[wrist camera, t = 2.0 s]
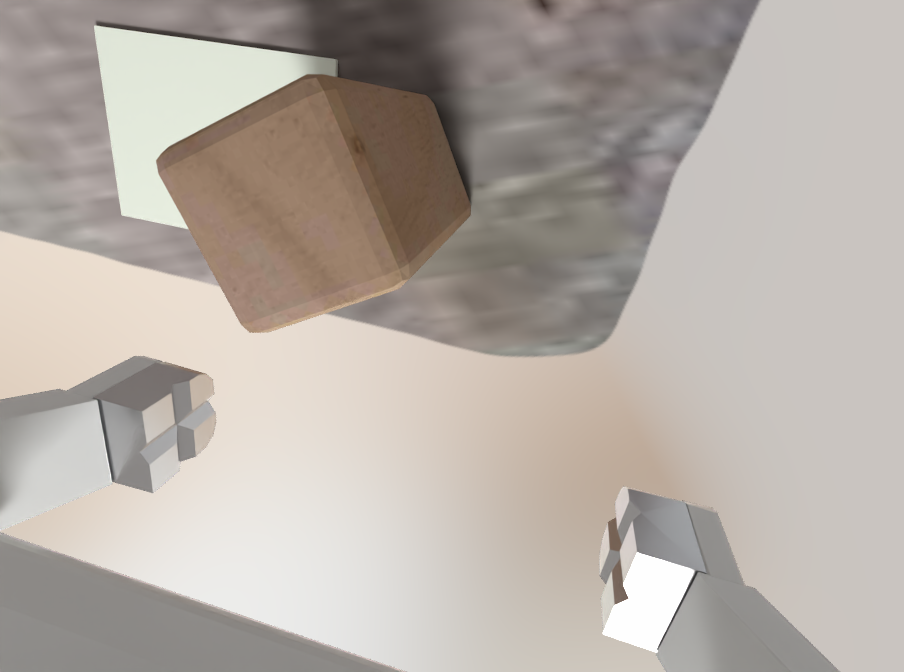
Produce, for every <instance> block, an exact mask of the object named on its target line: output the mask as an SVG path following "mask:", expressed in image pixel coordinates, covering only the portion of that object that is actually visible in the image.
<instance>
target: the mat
mask: <svg viewBox="0 0 904 672" xmlns="http://www.w3.org/2000/svg"><path fill="white" fill-rule="evenodd" d="M94 30H95V37H96V43H97V50H98V57H99V64H100V71H101V78H102V84H103V91H104V98H105V105H106V112H107V119H108V125H109V132H110V139H111V146H112V153H113V160H114V166H115V173H116V180H117V187H118V194H119V201H120V207H121V214H122V215H123V216H128V217H133V218H138V219H142V220H147V221H152V222H157V223H162V224H166V225H171V226H176V227H181V228H186V229H188V227H187V225H186V223H185V221H184V220H183V218H182V216H181V214H180V212H179V210H178V209H177V207H176V205H175V203H174V201H173V199H172V198H171V196H170V194H169V192H168V190H167V189H166V187H165V185H164V183H163V181H162V179H161V178H160V176H159V174H158V169H157V164H156V160H157V158H158V157H159V156H160V154H161V153H162V152H163V151H164V150H165V149H167V148H168V147H169V146H171V145H172V144H174V143H176V142H178V141H180V140H182V139H184V138H186V137H188V136H190V135H192V134H193V133H195V132H197V131H199V130H201V129H203V128H205V127H207V126H209V125H211V124H213V123H214V122H216V121H218V120H220V119H222V118H224V117H226V116H228V115H230V114H232V113H234V112H236V111H237V110H239V109H241V108H243V107H245V106H247V105H249V104H251V103H253V102H255V101H257V100H258V99H260V98H262V97H264V96H266V95H268V94H270V93H272V92H274V91H276V90H278V89H279V88H281V87H283V86H285V85H287V84H289V83H291V82H293V81H295V80H297V79H299V78H301V77H302V76H304V75H306V74H325V75H329V76H334V77H337V76H338V60H337V59H331V58H323V57H316V56H309V55H302V54H295V53H288V52H280V51H273V50H266V49H259V48H252V47H245V46H237V45H230V44H223V43H216V42H209V41H202V40H194V39H187V38H180V37H173V36H166V35H159V34H152V33H144V32H137V31H130V30H123V29H116V28H109V27H101V26H94Z"/></svg>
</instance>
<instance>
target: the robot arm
mask: <svg viewBox="0 0 904 672" xmlns="http://www.w3.org/2000/svg"><path fill="white" fill-rule="evenodd" d="M213 395H214V386H213V379H212V378H211V377H209V376H208V375H207V374H205V373H201V372H198V371H194V370H191V369H188V368H184V367H181V366H177V365H174V364H170V363H167V362H162V361H160V360H156V359H152V358H148V357H145V356H134V357H132V358H130V359H128V360H126V361H124V362H122V363H120V364H118V365H116V366H114V367H112V368H110V369H108V370H106V371H105V372H102V373H100V374H98V375H96V376H95V377H92V378H90V379H89V380H87V381H85V382H83V383H81V384H79V385H77V386H75V387H73V388H71V389H69V390H67V391H65V390H61V389H56V390H51V391H45V392H40V393H34V394H28V395H24V396H18V397H12V398H6V399H1V400H0V531H1V530H3V529H6V528H8V527H11V526H13V525H15V524H18V523H20V522H23V521H25V520H27V519H30V518H32V517H35V516H37V515H39V514H42V513H44V512H47V511H49V510H51V509H54V508H56V507H59V506H61V505H63V504H66V503H68V502H70V501H73V500H75V499H78V498H80V497H82V496H85V495H87V494H90V493H92V492H95V491H97V490H99V489H102V488H104V487H106V486H109V485H111V484H112V482H115V483H118V484H122V485H126V486H129V487H133V488H137V489H140V490H144V491H147V492H151V493H154V492H155V491H156V490H158V489H159V488H160V487H161V486H162V485H163V484H164V483H166V482H167V481H168V480H169V479H170V478H171V477H173V476H174V475H175V474H176V473H177V472H178V471H179V469H180V462H181V461H183V460H187V459H190V458H193V457H195V456H197V455H198V454H199V453H200V452H201V451H202V450H204V449H205V448H206V446H207V445H208V443H209V441H210V439H211V438H212V436H213V434H214V430H215V425H216V413H215V411H214V410H213V408H212V406H211V405H210V403H209V402H208V401H209V400H210V398H211V397H212V396H213ZM615 509H616V518H614V519H612V520H611V521H609V522H608V523H607V526H606V529H605V532H604V535H603V539H602V544H601V549H600V559H599V572H600V577H601V579H602V580H603V581H604V582H605V584H606V586H605V589H604V592H603V594H602V596H601V608H602V623H603V634H605V635H608V636H611V637H614V638H617V639H620V640H623V641H626V642H629V643H632V644H634V645H637V646H640V647H643V648H646V649H649V650H652V651H655V652H657V653H656V656H657V657H658V659H659V661H660V662H661V664H662V666H663V667H664V669H665V671H666V672H840V671H839V670H838V669H837V668H836V667H834V665H833V664H832V663H831V662H830V661H829V660H828V659H827V658H825V656H824V655H822V654H821V653H820V652H819V651H818V650H817V649H816V648H815V647H814V646H813V645H812V644H811V643H810V642H809V641H808V640H807V639H806V638H805V637H804V636H803V635H802V634H801V633H800V632H799V631H798V630H797V629H796V628H795V627H794V626H793V625H792V624H791V623H790V622H788V620H787V619H786V618H785V617H784V616H783V615H782V614H781V613H780V612H779V611H778V610H776V608H775V607H774V606H773V605H771V603H770V602H768V601H767V600H766V599H765V598H764V597H763V596H762V595H761V594H760V593H759V592H758V591H757V590H756V589H755V588H753V587H749V586H746V585H745V584H744V581H743V579H742V576H741V573H740V571H739V568H738V566H737V563H736V560H735V558H734V555H733V553H732V550H731V547H730V545H729V542H728V539H727V537H726V534H725V532H724V529H723V526H722V524H721V521H720V518H719V516H718V513H717V512H716V511H715V510H714V509H713V508H712V507H707V506H703V505H699V504H695V503H691V502H686V501H678V500H675V499H671V498H667V497H663V496H659V495H655V494H652V493H648V492H644V491H640V490H636V489H633V488H628V487H625V486H623V487H622V489H621V490H620V492H619V494H618V497H617V499H616V502H615ZM0 672H406V671H403V670H400V669H397V668H394V667H391V666H388V665H385V664H382V663H379V662H376V661H373V660H371V659H368V658H365V657H362V656H359V655H356V654H353V653H350V652H347V651H344V650H341V649H338V648H336V647H333V646H330V645H327V644H324V643H321V642H318V641H315V640H312V639H309V638H306V637H303V636H300V635H298V634H294V633H292V632H289V631H286V630H283V629H280V628H277V627H274V626H272V625H269V624H266V623H263V622H260V621H256V620H254V619H251V618H248V617H245V616H242V615H240V614H237V613H234V612H231V611H227V610H225V609H222V608H219V607H216V606H213V605H210V604H208V603H205V602H202V601H199V600H196V599H193V598H190V597H187V596H184V595H181V594H178V593H176V592H172V591H169V590H166V589H164V588H161V587H158V586H155V585H152V584H149V583H146V582H143V581H140V580H138V579H135V578H132V577H129V576H126V575H123V574H120V573H117V572H114V571H111V570H108V569H106V568H102V567H99V566H96V565H94V564H91V563H88V562H85V561H82V560H79V559H76V558H74V557H71V556H67V555H65V554H62V553H59V552H56V551H53V550H50V549H47V548H44V547H41V546H39V545H36V544H33V543H30V542H27V541H24V540H21V539H18V538H15V537H12V536H9V535H7V534H4V533H1V532H0Z"/></svg>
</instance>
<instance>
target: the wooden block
mask: <svg viewBox="0 0 904 672" xmlns="http://www.w3.org/2000/svg"><path fill="white" fill-rule="evenodd" d="M156 164H157V169H158V174H159V176H160V178H161V179H162V181H163V183H164V185H165V187H166V189H167V190H168V192H169V194H170V196H171V198H172V199H173V201H174V203H175V205H176V207H177V209H178V210H179V212H180V214H181V216H182V218H183V220H184V221H185V223H186V225H187V227H188V229H189V230H190V232H191V234H192V236H193V238H194V240H195V241H196V243H197V245H198V247H199V249H200V251H201V252H202V254H203V256H204V258H205V260H206V261H207V263H208V265H209V267H210V269H211V271H212V272H213V274H214V276H215V278H216V280H217V281H218V283H219V285H220V287H221V289H222V291H223V292H224V294H225V296H226V298H227V300H228V302H229V303H230V305H231V307H232V309H233V310H234V312H235V314H236V316H237V318H238V320H239V321H240V323H241V325H242V326H243V327H244V328H245V329H247V330H248V331H249V332H252V333H254V332H255V333H261V332H262V333H264V332H271V331H274V330H277V329H279V328H283V327H286V326H289V325H292V324H295V323H298V322H301V321H304V320H307V319H310V318H313V317H316V316H319V315H322V314H325V313H328V312H331V311H334V310H337V309H340V308H343V307H346V306H349V305H352V304H355V303H358V302H361V301H364V300H367V299H370V298H373V297H376V296H379V295H382V294H385V293H388V292H391V291H394V290H397V289H399V288H400V287H401V286H402V285H403V284H405V283H406V282H407V281H408V280H409V279H410V278H411V277H412V276H413V275H414V274H415V273H416V272H417V271H418V269H419V268H420V267H421V266H422V265H423V264H424V263H425V262H426V261H427V260H428V259H429V258H430V257H431V256H432V255H433V254H434V253H435V252H436V251H437V250H438V249H439V248H440V247H441V246H442V245H443V244H444V242H445V241H446V240H447V239H448V238H449V237H450V236H451V235H452V234H453V233H454V232H455V231H456V230H457V229H458V228H459V227H460V226H461V225H462V224H463V223H464V222H465V221H466V220H467V219H468V218H469V216H470V215H471V205H470V202H469V199H468V196H467V194H466V191H465V188H464V185H463V183H462V180H461V177H460V174H459V171H458V169H457V166H456V163H455V160H454V158H453V155H452V152H451V149H450V146H449V144H448V141H447V138H446V135H445V133H444V130H443V127H442V124H441V121H440V119H439V116H438V113H437V110H436V108H435V105H434V103H433V102H432V101H431V99H430V98H429V97H428V96H427V95H423V94H418V93H413V92H408V91H403V90H398V89H393V88H388V87H383V86H379V85H374V84H369V83H364V82H359V81H354V80H349V79H344V78H339V77H334V76H329V75H325V74H306V75H304V76H302V77H301V78H299V79H297V80H295V81H293V82H291V83H289V84H287V85H285V86H283V87H281V88H279V89H278V90H276V91H274V92H272V93H270V94H268V95H266V96H264V97H262V98H260V99H258V100H257V101H255V102H253V103H251V104H249V105H247V106H245V107H243V108H241V109H239V110H237V111H236V112H234V113H232V114H230V115H228V116H226V117H224V118H222V119H220V120H218V121H216V122H214V123H213V124H211V125H209V126H207V127H205V128H203V129H201V130H199V131H197V132H195V133H193V134H192V135H190V136H188V137H186V138H184V139H182V140H180V141H178V142H176V143H174V144H172V145H171V146H169V147H168V148H167V149H165V150H164V151H163V152H162V153H161V154H160V156H159V157H158V158H157V160H156Z"/></svg>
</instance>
